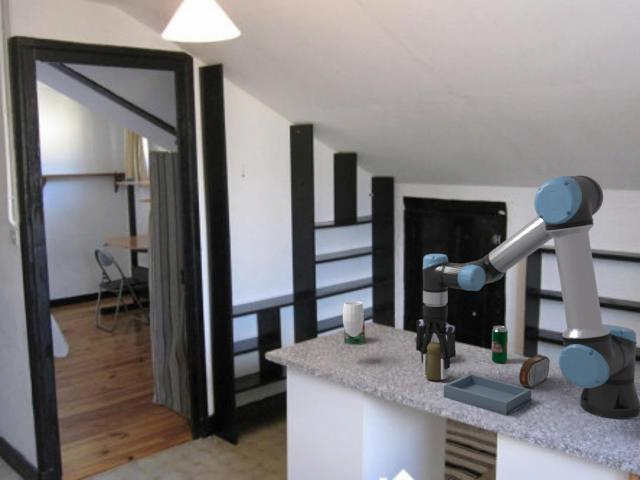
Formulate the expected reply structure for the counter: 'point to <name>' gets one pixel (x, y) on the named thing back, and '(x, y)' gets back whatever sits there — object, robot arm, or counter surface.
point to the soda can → (499, 344)
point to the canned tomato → (357, 339)
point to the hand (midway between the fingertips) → (435, 375)
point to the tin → (534, 371)
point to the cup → (353, 317)
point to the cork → (434, 361)
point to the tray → (487, 394)
